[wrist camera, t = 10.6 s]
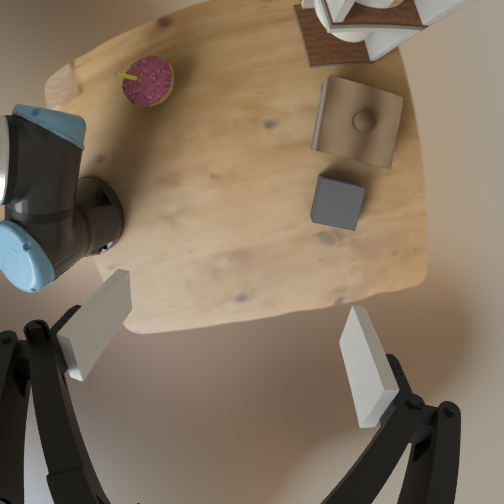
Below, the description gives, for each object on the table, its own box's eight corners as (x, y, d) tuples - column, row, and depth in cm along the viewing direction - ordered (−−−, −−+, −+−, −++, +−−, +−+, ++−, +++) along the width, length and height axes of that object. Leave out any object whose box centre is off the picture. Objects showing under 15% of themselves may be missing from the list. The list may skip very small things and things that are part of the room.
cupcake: (131, 106, 44) (94, 101, 33) (142, 61, 41) (108, 45, 29) (176, 111, 44) (147, 105, 33) (188, 64, 41) (162, 45, 30)
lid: (314, 149, 40) (318, 151, 37) (327, 78, 36) (332, 73, 32) (384, 167, 40) (394, 170, 37) (397, 99, 36) (407, 96, 32)
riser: (310, 215, 49) (312, 222, 45) (318, 174, 46) (322, 178, 43) (349, 223, 49) (354, 230, 45) (358, 184, 46) (365, 188, 42)
